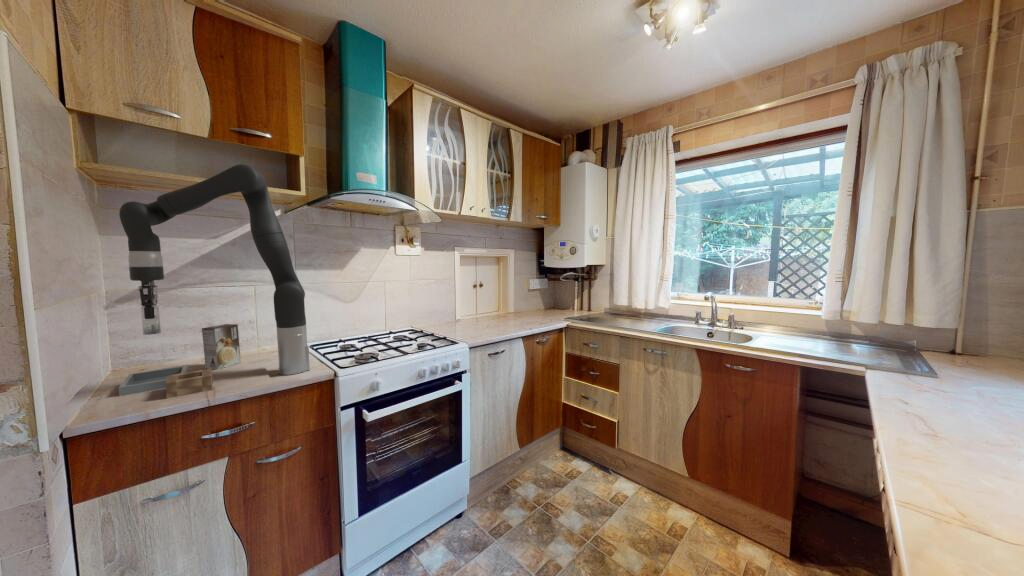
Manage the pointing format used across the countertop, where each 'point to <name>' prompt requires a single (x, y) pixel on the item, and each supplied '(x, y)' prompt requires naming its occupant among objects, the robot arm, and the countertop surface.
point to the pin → (151, 322)
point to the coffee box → (221, 346)
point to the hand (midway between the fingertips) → (151, 317)
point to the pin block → (189, 383)
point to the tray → (148, 380)
